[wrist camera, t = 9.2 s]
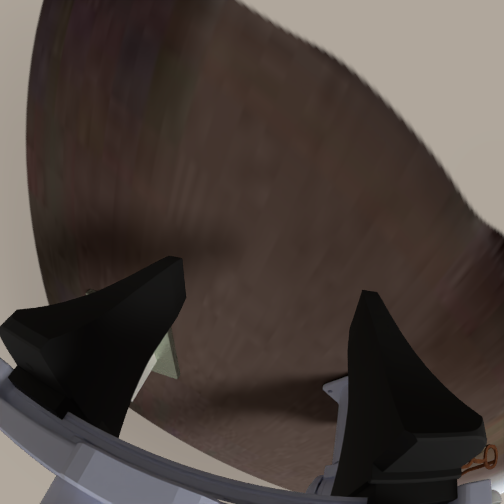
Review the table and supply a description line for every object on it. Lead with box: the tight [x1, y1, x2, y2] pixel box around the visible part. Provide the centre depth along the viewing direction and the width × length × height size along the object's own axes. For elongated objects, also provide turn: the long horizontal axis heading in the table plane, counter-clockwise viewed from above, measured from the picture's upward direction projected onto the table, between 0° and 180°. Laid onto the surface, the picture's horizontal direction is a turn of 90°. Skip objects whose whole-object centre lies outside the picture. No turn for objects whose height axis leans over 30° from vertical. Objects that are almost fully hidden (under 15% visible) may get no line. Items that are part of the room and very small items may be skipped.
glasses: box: [461, 445, 498, 476], centre depth 31 cm, size 13×13×5 cm
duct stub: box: [86, 289, 180, 379], centre depth 29 cm, size 10×10×4 cm
